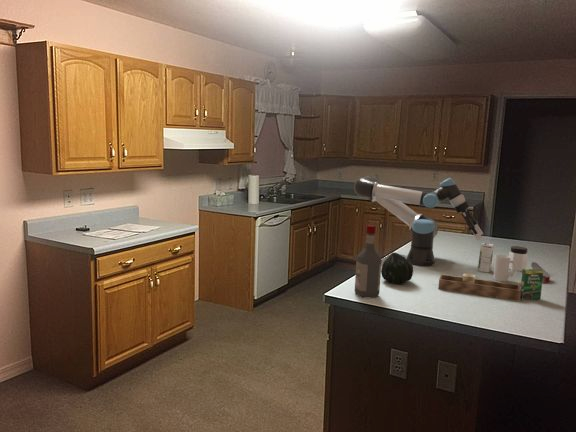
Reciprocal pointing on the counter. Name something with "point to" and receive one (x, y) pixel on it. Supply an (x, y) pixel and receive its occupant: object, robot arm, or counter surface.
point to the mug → (502, 267)
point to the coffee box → (531, 284)
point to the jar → (518, 257)
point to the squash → (397, 269)
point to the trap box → (481, 287)
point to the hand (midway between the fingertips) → (480, 237)
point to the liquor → (368, 267)
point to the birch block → (468, 278)
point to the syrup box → (485, 257)
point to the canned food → (545, 274)
